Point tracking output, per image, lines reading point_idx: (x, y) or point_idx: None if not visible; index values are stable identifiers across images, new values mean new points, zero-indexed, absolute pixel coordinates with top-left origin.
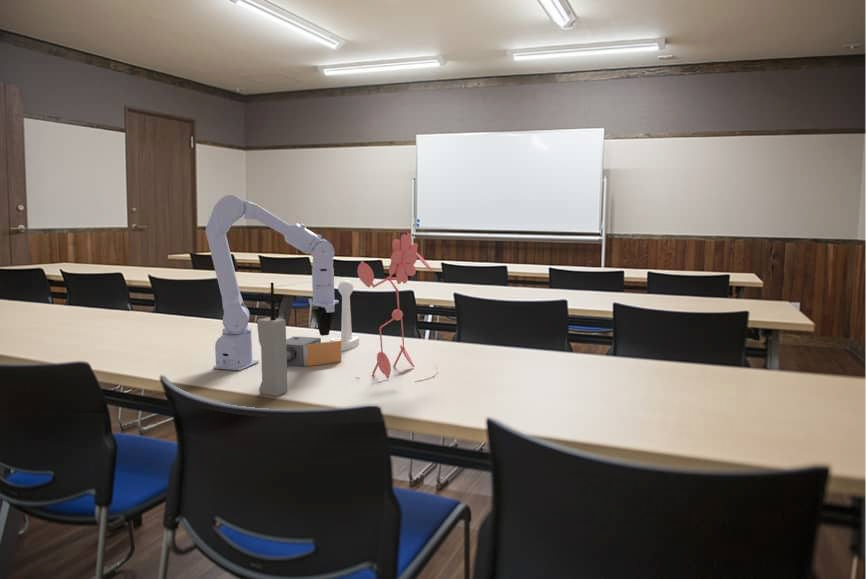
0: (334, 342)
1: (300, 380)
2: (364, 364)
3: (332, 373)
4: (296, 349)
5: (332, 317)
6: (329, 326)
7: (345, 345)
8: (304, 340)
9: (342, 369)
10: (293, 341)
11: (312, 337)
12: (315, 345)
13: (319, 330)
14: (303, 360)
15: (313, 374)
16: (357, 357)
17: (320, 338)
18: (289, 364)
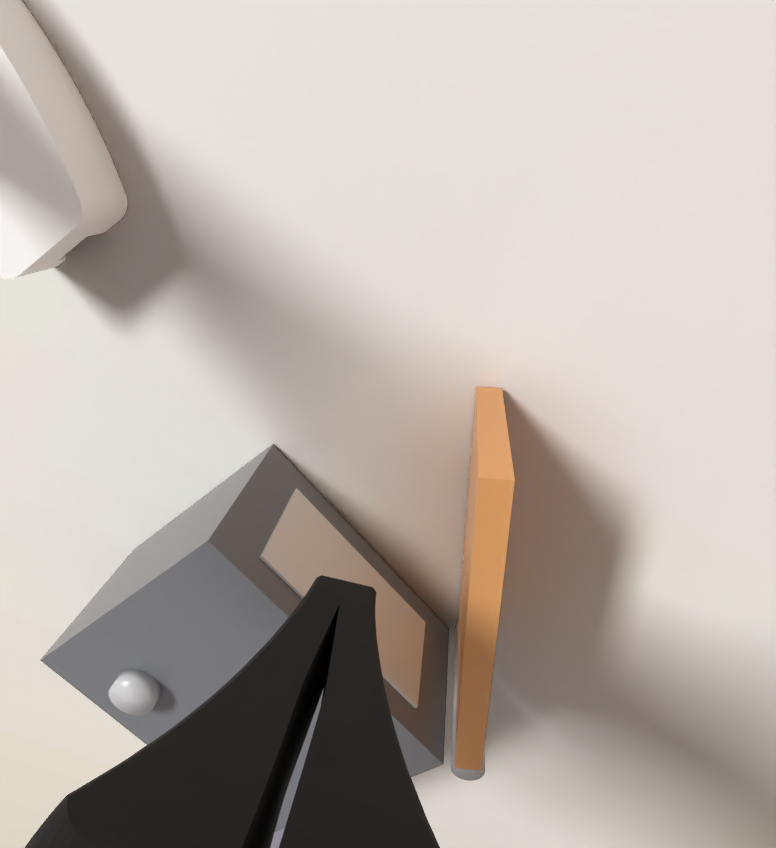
0: (506, 545)
1: (746, 768)
2: (730, 261)
3: (764, 590)
4: None
5: (420, 807)
6: (376, 673)
7: (66, 132)
8: None
9: (724, 491)
10: None
11: (152, 583)
12: (489, 699)
13: (318, 700)
14: (446, 660)
15: (684, 675)
16: (435, 176)
17: (213, 540)
18: None
